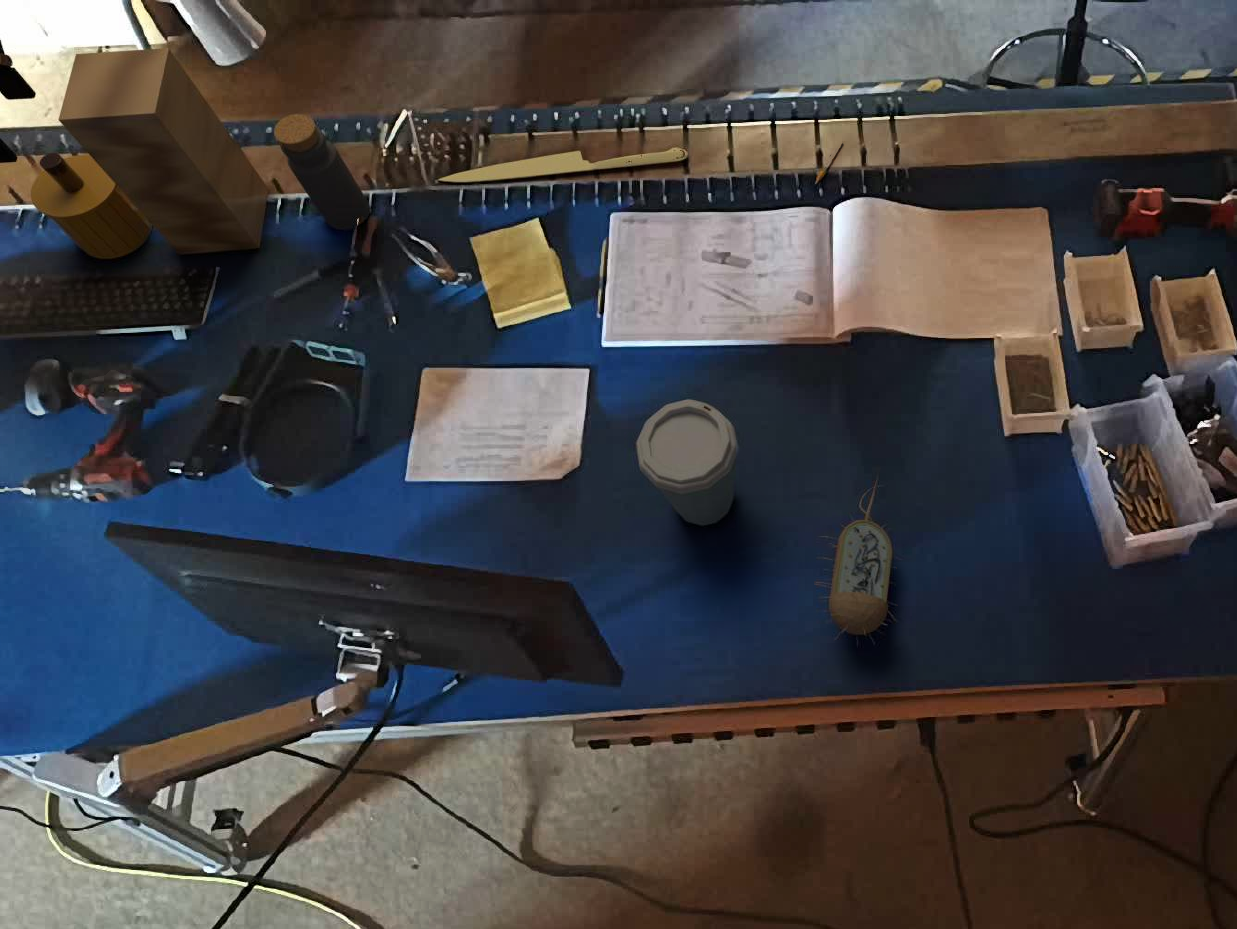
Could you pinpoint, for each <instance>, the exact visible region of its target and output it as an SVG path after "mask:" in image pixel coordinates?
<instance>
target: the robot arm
mask: <svg viewBox="0 0 1237 929" xmlns="http://www.w3.org/2000/svg"><path fill="white" fill-rule="evenodd" d="M3 46H4V45H3V44H2V40H1V39H0V94H1V95H2V96H3V97H4V98H5V99H6V100H9V101H10V100H11V101H14V100H31V99H32V100H33V99H35V98H36V95H37V93H36V91H35V89H33V88H32V86H30V84H29V83H28V82H27V80H26V79H25V78H24V77H23V76H22V75H21V73H19V71H18V70H17V69H16V67H14V66H13V65H14V62H13V59H12V57H11V56H10V55H9V54H6V53H5V50H4V47H3ZM18 158H19V157H18V156H17V154H16V153H15V152H14V151H13V150H12V148H10V147H9V145H8V144H7V143H6V142H5V141H3V139H2V138H1V137H0V164H7V163H9V164H10V163H16V162H17V161H18Z"/></svg>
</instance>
